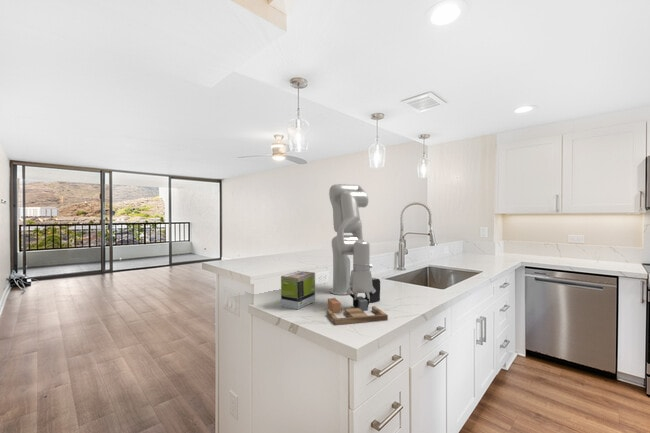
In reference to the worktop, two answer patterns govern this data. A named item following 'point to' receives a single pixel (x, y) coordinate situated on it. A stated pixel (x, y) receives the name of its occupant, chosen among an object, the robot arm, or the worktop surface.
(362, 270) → the robot arm
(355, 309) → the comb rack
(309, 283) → the tea box
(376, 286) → the battery charger
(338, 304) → the terracotta stub
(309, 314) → the worktop surface
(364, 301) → the grey stub
